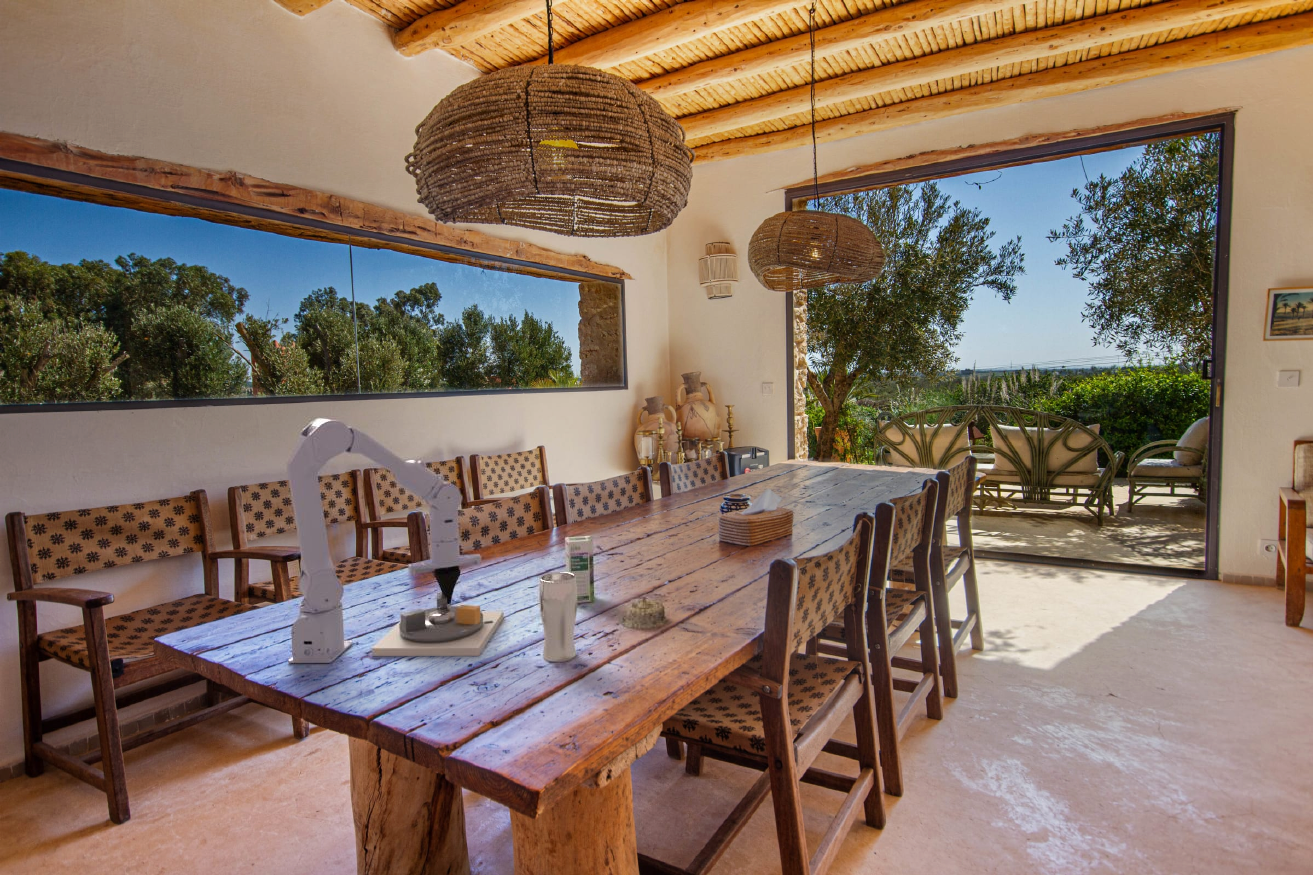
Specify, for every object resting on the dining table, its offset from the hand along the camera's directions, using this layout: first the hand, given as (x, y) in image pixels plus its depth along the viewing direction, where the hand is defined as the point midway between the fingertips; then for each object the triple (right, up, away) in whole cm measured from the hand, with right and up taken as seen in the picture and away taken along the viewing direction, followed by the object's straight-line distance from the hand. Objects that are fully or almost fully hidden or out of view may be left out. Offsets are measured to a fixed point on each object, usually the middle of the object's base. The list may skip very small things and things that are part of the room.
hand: (447, 602), depth 145 cm
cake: (+41, -5, +2) cm, 41 cm away
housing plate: (+1, -5, -6) cm, 8 cm away
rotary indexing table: (+1, -3, -6) cm, 7 cm away
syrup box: (+26, -3, +16) cm, 31 cm away
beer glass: (+26, -6, -16) cm, 31 cm away
